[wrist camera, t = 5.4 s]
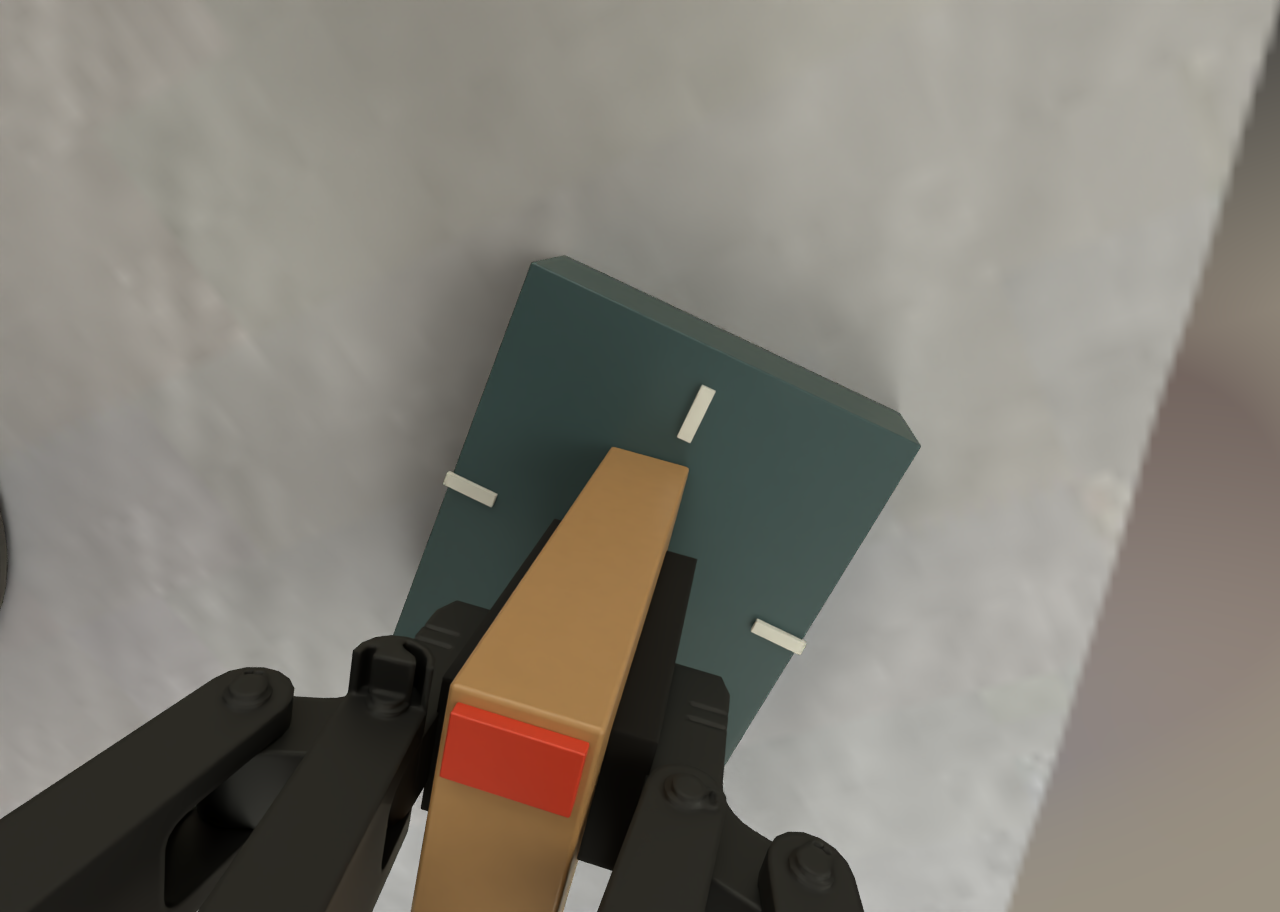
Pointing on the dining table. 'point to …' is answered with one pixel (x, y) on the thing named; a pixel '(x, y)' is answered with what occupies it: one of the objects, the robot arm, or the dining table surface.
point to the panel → (674, 432)
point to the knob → (546, 700)
